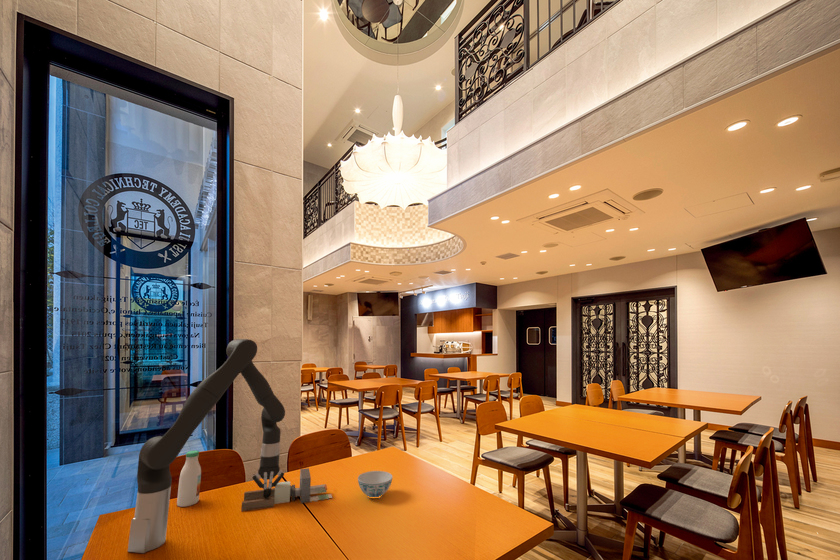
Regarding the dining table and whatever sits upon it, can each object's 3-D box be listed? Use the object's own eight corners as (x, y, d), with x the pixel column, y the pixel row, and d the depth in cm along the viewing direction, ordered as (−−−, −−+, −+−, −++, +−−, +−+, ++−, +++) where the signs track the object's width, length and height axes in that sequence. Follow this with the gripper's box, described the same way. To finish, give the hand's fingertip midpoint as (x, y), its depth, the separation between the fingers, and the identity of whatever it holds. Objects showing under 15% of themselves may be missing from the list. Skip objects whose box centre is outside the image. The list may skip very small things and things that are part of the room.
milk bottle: (191, 507, 148) (196, 454, 151) (172, 507, 148) (177, 454, 151) (202, 499, 155) (207, 449, 158) (184, 499, 155) (189, 448, 159)
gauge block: (274, 504, 151) (275, 488, 152) (274, 498, 156) (275, 483, 157) (291, 501, 153) (292, 485, 154) (291, 495, 159) (292, 480, 160)
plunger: (292, 502, 151) (292, 492, 152) (291, 494, 159) (292, 484, 160) (327, 497, 156) (327, 487, 157) (325, 490, 164) (325, 480, 164)
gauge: (241, 512, 144) (243, 486, 145) (244, 499, 155) (245, 475, 157) (332, 498, 156) (333, 475, 157) (328, 487, 167) (329, 465, 169)
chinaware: (386, 505, 150) (386, 484, 151) (351, 501, 153) (352, 481, 154) (396, 490, 164) (396, 472, 166) (364, 487, 167) (364, 469, 169)
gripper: (252, 457, 150) (248, 503, 147) (286, 454, 155) (283, 499, 152) (253, 452, 157) (250, 496, 154) (286, 449, 162) (283, 492, 159)
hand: (266, 497), depth 153 cm, fingers closed
